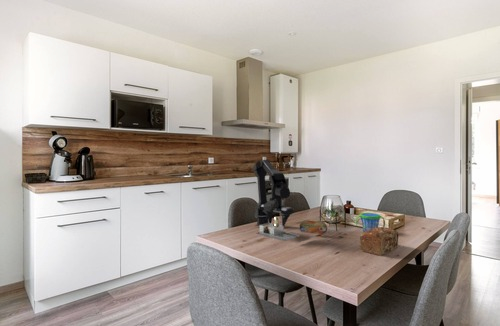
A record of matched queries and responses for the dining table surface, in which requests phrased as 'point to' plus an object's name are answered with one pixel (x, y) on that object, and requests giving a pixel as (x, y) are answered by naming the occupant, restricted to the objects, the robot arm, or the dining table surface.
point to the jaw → (276, 227)
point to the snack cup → (370, 220)
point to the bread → (379, 240)
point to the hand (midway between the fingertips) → (276, 224)
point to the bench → (282, 236)
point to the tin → (313, 227)
